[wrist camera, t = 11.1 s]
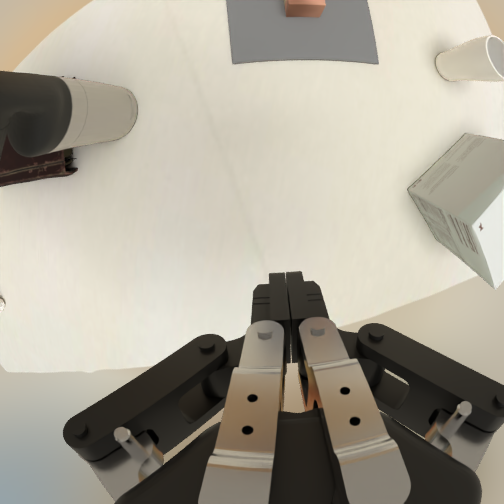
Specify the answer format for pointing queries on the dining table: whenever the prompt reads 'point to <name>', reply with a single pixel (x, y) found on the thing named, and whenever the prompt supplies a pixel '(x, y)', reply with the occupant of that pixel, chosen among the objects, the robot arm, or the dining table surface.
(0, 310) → the spread jar
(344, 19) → the rubber mat
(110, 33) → the dining table surface
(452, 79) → the drinking glass
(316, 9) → the oak block
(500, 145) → the supplement box
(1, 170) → the diary
